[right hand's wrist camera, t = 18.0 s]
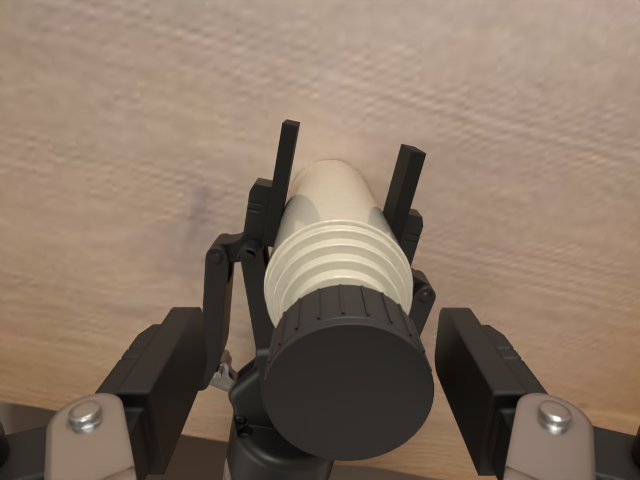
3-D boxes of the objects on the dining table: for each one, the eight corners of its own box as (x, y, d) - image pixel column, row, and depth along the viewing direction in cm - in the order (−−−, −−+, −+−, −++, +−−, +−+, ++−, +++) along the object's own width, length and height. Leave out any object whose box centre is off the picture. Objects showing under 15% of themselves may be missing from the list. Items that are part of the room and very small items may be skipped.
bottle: (381, 172, 28) (494, 318, 10) (355, 247, 30) (412, 483, 12) (300, 149, 27) (266, 259, 9) (279, 227, 29) (218, 442, 11)
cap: (298, 261, 11) (294, 298, 9) (442, 309, 12) (467, 354, 10) (252, 382, 13) (240, 437, 11) (382, 420, 13) (394, 479, 11)
